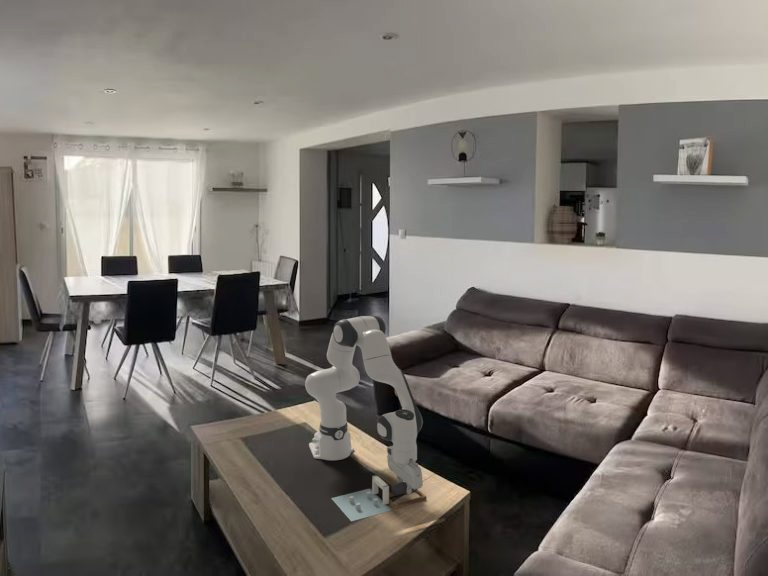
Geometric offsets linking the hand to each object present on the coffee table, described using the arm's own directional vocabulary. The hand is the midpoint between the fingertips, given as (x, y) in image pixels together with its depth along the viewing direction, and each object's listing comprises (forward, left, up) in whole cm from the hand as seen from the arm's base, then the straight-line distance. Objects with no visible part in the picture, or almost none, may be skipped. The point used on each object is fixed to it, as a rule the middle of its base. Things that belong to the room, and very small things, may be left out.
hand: (404, 489), depth 219 cm
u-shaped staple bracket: (-4, -8, -3) cm, 10 cm away
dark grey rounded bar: (0, 0, -1) cm, 1 cm away
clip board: (-4, -16, -4) cm, 17 cm away
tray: (0, 0, -4) cm, 5 cm away
